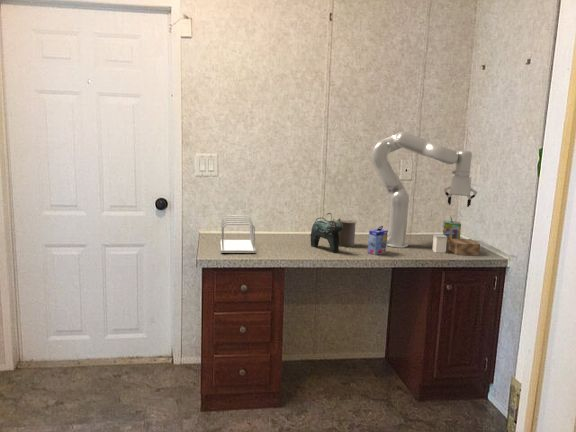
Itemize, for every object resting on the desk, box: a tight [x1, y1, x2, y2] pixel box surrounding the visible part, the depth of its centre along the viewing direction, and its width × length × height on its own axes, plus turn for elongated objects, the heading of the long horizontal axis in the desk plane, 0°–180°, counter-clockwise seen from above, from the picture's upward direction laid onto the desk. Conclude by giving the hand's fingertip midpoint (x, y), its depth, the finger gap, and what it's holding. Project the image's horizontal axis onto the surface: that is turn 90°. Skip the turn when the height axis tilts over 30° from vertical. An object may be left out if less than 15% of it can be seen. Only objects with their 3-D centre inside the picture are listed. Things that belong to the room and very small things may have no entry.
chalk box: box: [442, 216, 462, 243], centre depth 296 cm, size 9×9×15 cm
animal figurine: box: [310, 212, 343, 254], centre depth 265 cm, size 20×6×20 cm, turn 41°
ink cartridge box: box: [367, 225, 389, 256], centre depth 262 cm, size 10×6×14 cm, turn 136°
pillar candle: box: [338, 219, 356, 248], centre depth 277 cm, size 10×10×15 cm
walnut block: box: [448, 238, 481, 256], centre depth 270 cm, size 12×12×6 cm
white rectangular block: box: [432, 233, 448, 254], centre depth 270 cm, size 6×6×9 cm
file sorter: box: [219, 214, 257, 254], centre depth 263 cm, size 25×17×16 cm
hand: (458, 205), depth 272 cm, fingers open, 9 cm apart
